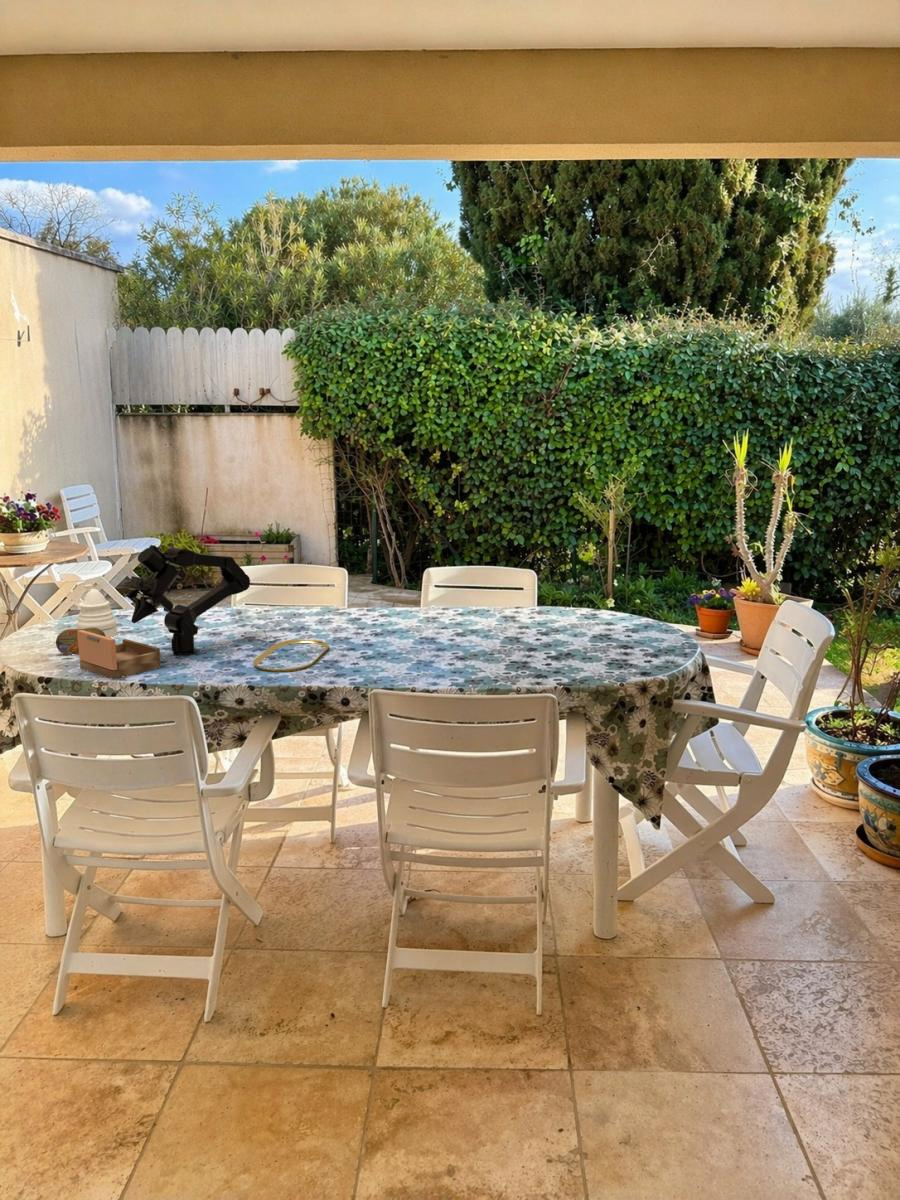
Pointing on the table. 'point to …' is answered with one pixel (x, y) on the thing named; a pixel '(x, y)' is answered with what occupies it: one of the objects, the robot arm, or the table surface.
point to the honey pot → (96, 613)
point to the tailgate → (97, 649)
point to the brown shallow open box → (128, 660)
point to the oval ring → (287, 644)
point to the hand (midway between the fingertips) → (132, 622)
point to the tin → (72, 640)
